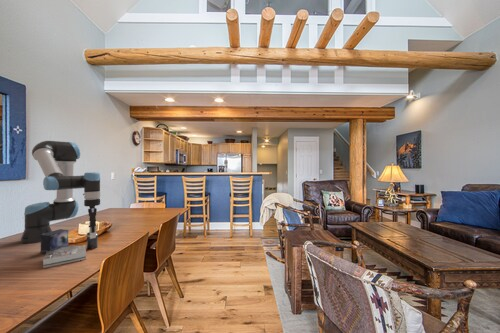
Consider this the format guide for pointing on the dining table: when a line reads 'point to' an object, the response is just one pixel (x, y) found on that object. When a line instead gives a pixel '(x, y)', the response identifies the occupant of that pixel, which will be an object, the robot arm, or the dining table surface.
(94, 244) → the lens
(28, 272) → the dining table surface
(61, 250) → the grey piece
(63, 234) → the small box
